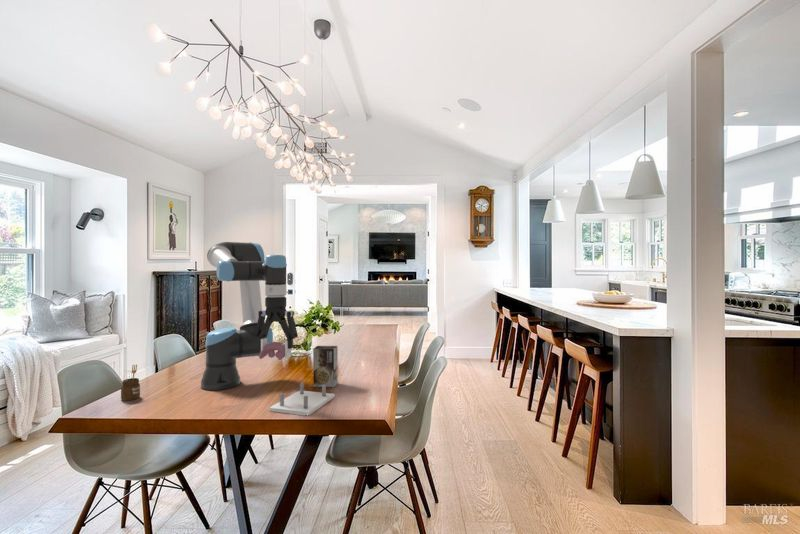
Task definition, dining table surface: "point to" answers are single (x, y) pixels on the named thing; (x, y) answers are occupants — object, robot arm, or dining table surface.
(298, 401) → the pin tray
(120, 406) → the dining table surface
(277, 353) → the video game controller
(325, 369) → the coffee box
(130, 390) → the utensil holder
